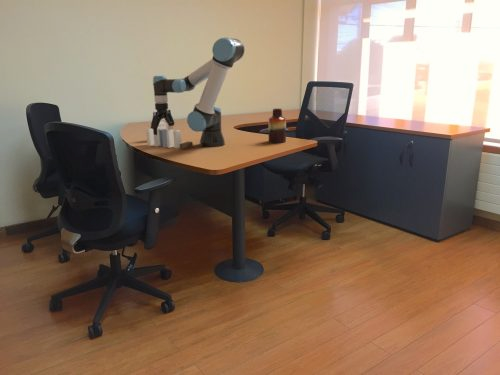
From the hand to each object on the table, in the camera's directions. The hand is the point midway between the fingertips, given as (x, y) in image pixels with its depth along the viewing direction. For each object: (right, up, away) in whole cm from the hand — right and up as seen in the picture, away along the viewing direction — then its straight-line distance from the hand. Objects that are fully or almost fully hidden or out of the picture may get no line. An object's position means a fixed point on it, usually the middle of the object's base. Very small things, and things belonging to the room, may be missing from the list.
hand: (163, 138), depth 256 cm
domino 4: (+5, -5, -1) cm, 7 cm away
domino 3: (0, -5, +1) cm, 5 cm away
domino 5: (+9, -6, -3) cm, 11 cm away
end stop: (+14, -6, -5) cm, 17 cm away
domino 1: (-9, -3, +6) cm, 11 cm away
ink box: (-7, +1, +21) cm, 22 cm away
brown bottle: (+69, -1, +10) cm, 70 cm away
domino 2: (-4, -4, +3) cm, 7 cm away
